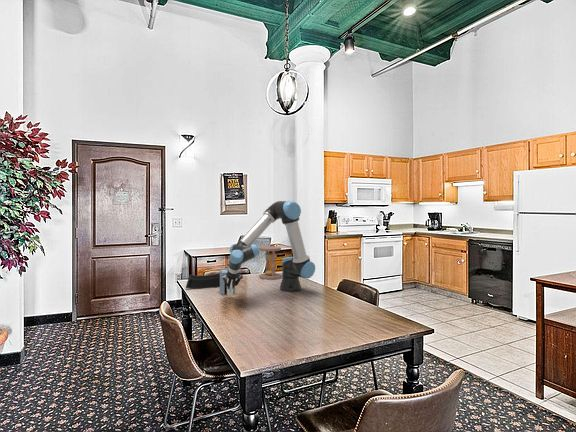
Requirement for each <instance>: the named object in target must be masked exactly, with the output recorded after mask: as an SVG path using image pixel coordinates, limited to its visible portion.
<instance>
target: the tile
mask: <svg viewBox="0 0 576 432" xmlns="http://www.w3.org/2000/svg"><path fill="white" fill-rule="evenodd" d="M226 280H227V283H228V280H229V279H228V278H227V277H226ZM232 280H233V279H232ZM231 283H232V281H231ZM225 295H226V296H230V295H231V296H233V295H234V294H233V289H232V291H231V293H229V289H228V286H225Z"/></svg>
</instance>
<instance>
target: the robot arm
mask: <svg viewBox="0 0 576 432" xmlns="http://www.w3.org/2000/svg"><path fill="white" fill-rule="evenodd" d="M301 213H302V209H301V206H300V205H299V203H298V202H296V201H293V200H278V201H276V202H273V203H272V204H271V205H269V207H267V208H266V209H265V210H264V211H263V213H262V216H261V217H260V218H259V219H258V220H257V221H256V223H254V224H253V225H252V227H250V229H249V230H248V231H247V232H246V234H244V235H243V236H242V237H241V238H240V240H239V241H237V243H233V244H232V245H230V247H229V253H230V254H229V259H228V266H227V269H228V271H227V274H226V275H225V276H224V275H222V278H223V280H224V282H225V286H228V289H229V293H231V291H232V289H233V288H234V286H235V287H237V286H238V285H239V283H240V282H241V280H242V279H243V278H244V276H243V273H241V268H242V265H243V264H244V263H246V262H248V261H249V260H252V259H254V258H256V257H257V256H259V255H260V247H258V245H256V244H255V242H256V241H257V239H259V238H260V236H261V235H262V234H263V233H265V231H266V230H267V229H268V227H269V226H270V225H271V224H274V223H275V222H276V221H278V220H279V219H281V223H282V224H283V225H284V227H285V230H286V234H287V237H288V240H289V244H290V245H289V246H290V248H291V252H292V256H287V257H283V258H282V262H281V265H282V266H281V267H282V271H281V272H282V273H281V277H282V278H281V281H280V285H279V290H280V291H282V292H290V293H291V292H292V293H293V292H299V291H301V290H302V285H301V282H300V281H301V280H300V278H301V279H310V278H312V277H313V276H314V274H315V272H316V265H315V263H314V262H313V261H311V258H310V256H309V255H308V254H307V253H306V249H305V244H304V240H303V236H302V234H301V233H302V232H301V228H300V225H299V221H300V216H301ZM226 277H227V278H228V279H229V280H228V283H227V280H226ZM232 279H233V280H232ZM231 281H232V283H231Z"/></svg>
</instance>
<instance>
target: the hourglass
mask: <svg viewBox="0 0 576 432" xmlns="http://www.w3.org/2000/svg"><path fill="white" fill-rule="evenodd" d="M281 250H282V247H281V246H275V245H274V246H272V245H270V246H269V245H267V246H260V247H259V252H260V251H262V252H265V253H264V257H265V265H264V267H265V271H264V273H260V274H259V279H261V280H265V279H266V280H267V281H269V280H271V281H272V280H273V281H274V280H280V279H282V278H281V277H282V274H280V273H276V265H275V262H276V255H277V254H276V252H279V251H281ZM270 264H271V269H269V268H270Z"/></svg>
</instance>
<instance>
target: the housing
mask: <svg viewBox="0 0 576 432" xmlns="http://www.w3.org/2000/svg"><path fill="white" fill-rule="evenodd" d="M227 271H228V268H227V269H226V268H225V269H224V268H223V269H219V273H220V287H219V291H220V293H221V294H222V296H225V295H226V292H225V282H224V280H223V278H222V275H224V276H225V275H226V274H227ZM233 295H236V286H234V288H233Z"/></svg>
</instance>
